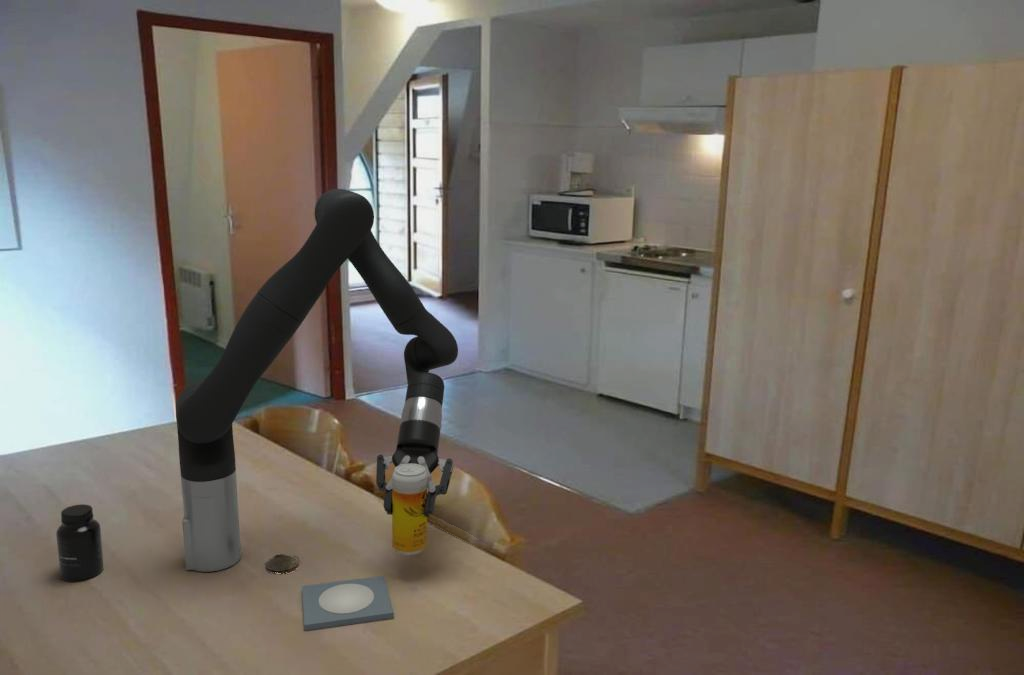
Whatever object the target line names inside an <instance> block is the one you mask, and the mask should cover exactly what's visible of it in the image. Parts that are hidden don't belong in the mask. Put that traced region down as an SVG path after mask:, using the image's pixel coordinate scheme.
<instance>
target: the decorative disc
mask: <svg viewBox="0 0 1024 675" xmlns="http://www.w3.org/2000/svg"><path fill="white" fill-rule="evenodd" d="M298 562H299V563H298ZM299 565H300V558H299V556H296V555H292V556H291V555H286V554H282V553H280V554H276V555H274V556H272V557H271V558H269V559H268V560H266V562H265V570H267V572H268V573H269V574H272V573H273V572H274V573H275V572H276V573H277V572H278V573H281V574H283V573H286V572H287V573H290V572H292V571H295V572H296V571H297V570H298V569H299V568H300V566H299ZM298 567H299V568H298ZM296 568H298V569H296ZM271 572H272V573H271ZM274 573H273V574H272V575H277V574H276V573H275V574H274ZM290 574H291V573H290Z"/></svg>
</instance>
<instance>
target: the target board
mask: <svg viewBox="0 0 1024 675" xmlns="http://www.w3.org/2000/svg"><path fill="white" fill-rule="evenodd" d="M301 596H302V597H301V598H302V612H303V613H302V614H303V626H304V629H303V630H304V631H305V632H307V631H313V630H318V629H327V628H333V627H341V626H348V625H354V624H364V623H369V622H376V621H384V620H391V619H395V616H394V614H395V612H394V609H393V605H392V604H393V603H392V601H391V597H390V593H389V589H388V586H387V582H386V578H385V575H379V576H370V577H363V578H362V577H361V578H354V579H346V580H339V581H331V582H321V583H315V584H308V585H302V586H301ZM383 619H384V620H383Z"/></svg>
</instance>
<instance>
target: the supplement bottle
mask: <svg viewBox="0 0 1024 675" xmlns="http://www.w3.org/2000/svg"><path fill="white" fill-rule="evenodd" d="M93 511H94V510H93V507H92V506H91V505H90V504H75V505H74V504H73V505H70V506H68V507H65V508H64V509H63V510H62V511H61V512H60V516H61V520H60V521H61V524H60V526H58V527H57V530H56V534H55V535H56V545H57V557H58V567H59V574H60V577H61V578H62V579H63V580H64V581H68V582H81V581H86V580H90V579H92V578H94V577H96V576H98V575H100V574H101V573H102V571H103V570H104V554H103V544H102V542H103V541H102V529H101V524H100V522H99V521H98V520H96V519H94V512H93Z"/></svg>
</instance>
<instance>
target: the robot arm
mask: <svg viewBox="0 0 1024 675" xmlns="http://www.w3.org/2000/svg"><path fill="white" fill-rule="evenodd" d="M374 212H375V211H374V209H373V206H372V204H371V203H370V201H369V200H368V199H367V198H366V197H365V196H363V195H362V194H359V193H357V192H355V191H351V190H349V189H346V188H344V189H343V188H334V189H329V190H327V191H325V192H324V193H322V194H321V195H320V196H319V198H318V199H317V201H316V203H315V207H314V213H313V214H314V219H315V223H316V225H315V226H314V228H313V230H312V231H311V233H310V235H309V236H308V237H307V240H306V241H305V242H304V244H303V245H302V247H301V248H300V249H299V251H297V253H296V254H295V255H294V256H292V257H291V258H290V259H289V260H288V261H287V262H285V263H284V264H283V265H282V266H281V267H280V268H279V269H278V270H277V271H275V272H274V273H273V274H272V275H271V276H269V278H268V279H267V280H266V281H265V282H264V283H263V285H262V286H261V287H260V288H259V289H258V291H257V292H256V293H255V295H254V296H253V298H252V299H251V300H250V301H249V303H248V305H247V306H246V308H245V309H244V310H243V313H242V314H241V315H240V317H239V319H238V321H237V323H236V324H235V327H234V329H233V331H232V334H231V335H230V338H229V339H228V342H227V344H226V346H225V349H224V351H223V353H222V355H221V357H220V359H219V360H218V362H217V363H216V365H214V367H213V368H212V369H211V371H210V372H209V373H208V375H207V376H206V377H205V379H204V380H200V381H195V382H193V383H190V384H189V385H187V386H185V388H183V389H182V391H181V392H180V393H179V395H178V396H177V398H176V399H177V400H176V402H175V420H176V428H177V439H178V440H177V441H178V442H177V443H178V458H179V469H180V481H181V482H180V483H181V493H182V494H181V496H182V504H183V505H182V507H183V508H182V509H183V517H182V518H183V519H182V532H183V533H182V534H183V545H184V546H183V548H184V557H185V558H184V559H185V570H186V571H196V572H202V573H203V572H204V573H206V572H207V573H209V572H216V571H217V572H218V571H222V570H225V569H228V568H230V567H233V566H234V565H235V564H237V563H238V562H240V559H241V557H242V546H241V544H242V543H241V536H240V535H241V534H240V532H241V531H240V518H239V517H240V516H239V513H240V512H239V499H238V496H239V495H238V483H237V469H236V468H237V467H236V466H237V465H236V453H235V452H236V451H235V443H234V431H233V423H234V421H235V419H236V418H237V415H238V414H239V412H240V411H241V409H242V407H243V405H244V403H245V402H246V400H247V398H248V396H249V395H250V393H251V392H252V390H253V389H254V386H255V385H256V384H257V382H258V381H259V380H260V378H261V377H262V376H263V375H264V374H265V373H266V371H267V370H268V369H269V367H270V366H271V365H272V364H273V362H274V361H275V360H276V358H277V357H278V356H279V355H280V353H281V352H282V350H284V348H285V346H287V344H288V343H289V341H290V340H291V339H292V338H293V336H294V335H295V334H296V332H297V331H298V330H299V327H301V325H302V324H303V322H304V321H305V320H306V317H308V315H309V313H310V312H311V310H312V308H313V307H314V306H315V304H316V303H317V301H318V300H319V298H320V297H321V295H322V293H323V292H324V291H325V290H326V287H328V284H329V283H330V281H331V280H332V278H333V277H334V275H335V274H337V272H338V270H339V269H341V267H342V265H344V263H345V262H346V261H347V260H348V261H349V262H350V264H352V266H353V267H354V269H355V271H357V273H358V274H359V276H360V277H361V279H362V281H363V282H364V283H365V285H366V286H367V288H368V290H369V291H370V293H371V295H372V296H373V298H374V299H375V301H376V302H377V304H378V306H379V307H380V309H381V310H382V312H383V313H384V315H385V316H386V318H387V319H388V321H389V323H390V324H391V325H392V328H393V329H394V330H395V331H396V332H397V333H398V334H400V335H404V336H405V335H406V336H415V337H413V338H411V339H410V340H408V341H407V343H406V346H405V348H404V352H403V360H404V367H405V373H406V382H407V383H406V384H407V388H406V393H405V394H406V395H405V399H404V400H405V401H404V404H403V405H404V406H403V408H402V412H401V417H400V423H399V430H398V437H397V442H396V449H395V451H394V453H393V454H392V455H390V456H384V454H378V455H377V456H376V474H375V475H376V477H375V478H376V479H375V480H376V482H375V483H376V487H377V488H378V491H380V492H384V498H383V499H384V500H383V505H382V506H383V508H384V511H385V512H386V514H387V515H388V516H389V515H391V516H392V477H391V478H390V479H389V480H388V482H386V471H387V470H388V469H390V465H391V464H393V465H394V467H395V468H396V467H397V466H399V465H402V464H409V463H412V464H419V465H422V466H424V467H425V471H426V473H427V497H426V503H425V511H424V514H425V517H427V518H430V517H431V515H433V514H434V512H435V507H436V506H435V505H436V498H437V496H440V495H442V496H443V495H446V494H447V493H448V490H449V486H450V482H451V478H452V474H453V472H454V471H453V470H454V462H453V459H452V458H447V459H441V458H439V456H438V453H439V445H440V436H441V430H442V426H443V424H442V423H443V422H442V420H443V405H444V404H443V403H444V395H445V394H444V392H445V381H444V380H443V378H442V377H441V376H439V375H438V374H436V373H432V372H429V371H430V370H435V369H438V368H442V367H446V366H449V365H451V364H453V363H454V362H455V361H456V360H457V358H458V355H459V346H458V343H457V340H456V338H455V336H454V335H453V334H452V332H451V331H450V330H449V329H448V328H447V327H446V326H445V325H444V324H443V323H442V322H441V321H440V320H438V319H437V317H435V316H434V315H433V314H432V313H431V312H430V311H428V310H427V309H426V308H425V306H424V304H423V302H422V301H421V299H420V298H419V296H418V294H417V293H416V292H415V290H414V289H413V287H412V285H411V284H410V283H409V281H408V280H407V279H406V278H405V276H404V275H403V273H401V271H400V270H399V268H397V267H396V265H395V264H394V262H392V260H391V259H390V257H388V255H387V254H386V253H385V250H383V248H382V246H380V244H379V242H378V240H377V239H376V237H375V236H374V234H373V231H372V228H373V227H374V222H375V221H374V220H375V214H374ZM438 467H440V471H441V473H442V474H441V478H440V480H439V481H440V482H439V484H437V485H435V483H434V481H433V478H432V475H431V474H432V473H433V472H434V471H435V470H436V469H437V468H438Z"/></svg>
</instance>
